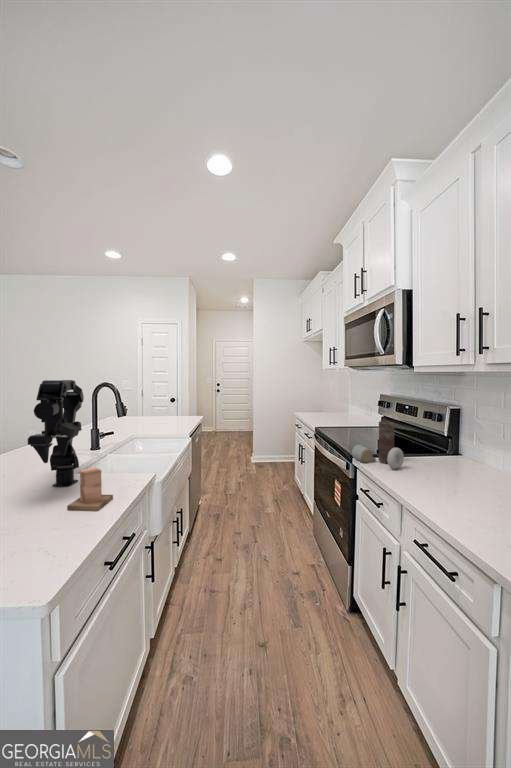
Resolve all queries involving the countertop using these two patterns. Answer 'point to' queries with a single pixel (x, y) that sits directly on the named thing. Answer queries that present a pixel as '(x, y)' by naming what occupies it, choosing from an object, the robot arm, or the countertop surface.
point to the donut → (394, 454)
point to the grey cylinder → (362, 454)
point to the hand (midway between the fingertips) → (54, 459)
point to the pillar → (90, 485)
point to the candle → (385, 440)
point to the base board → (94, 506)
